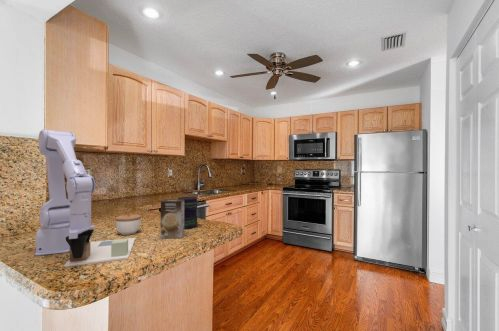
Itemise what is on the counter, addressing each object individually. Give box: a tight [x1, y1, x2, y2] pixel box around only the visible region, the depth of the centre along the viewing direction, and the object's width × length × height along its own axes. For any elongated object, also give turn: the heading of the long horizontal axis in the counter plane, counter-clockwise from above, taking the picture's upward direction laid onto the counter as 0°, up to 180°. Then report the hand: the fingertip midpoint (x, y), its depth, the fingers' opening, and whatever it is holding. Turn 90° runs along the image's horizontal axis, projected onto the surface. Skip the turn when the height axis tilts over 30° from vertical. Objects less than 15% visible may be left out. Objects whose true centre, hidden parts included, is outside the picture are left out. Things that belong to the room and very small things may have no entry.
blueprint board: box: [63, 237, 136, 268], centre depth 86 cm, size 18×24×1 cm
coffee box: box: [159, 198, 185, 239], centre depth 105 cm, size 9×6×16 cm
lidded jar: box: [114, 212, 142, 236], centre depth 110 cm, size 11×11×9 cm
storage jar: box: [177, 196, 198, 230], centre depth 121 cm, size 10×10×15 cm
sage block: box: [111, 237, 129, 257], centre depth 81 cm, size 4×4×4 cm
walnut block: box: [69, 241, 91, 262], centre depth 77 cm, size 4×4×4 cm
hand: (80, 255), depth 77 cm, fingers closed on walnut block, 4 cm apart
